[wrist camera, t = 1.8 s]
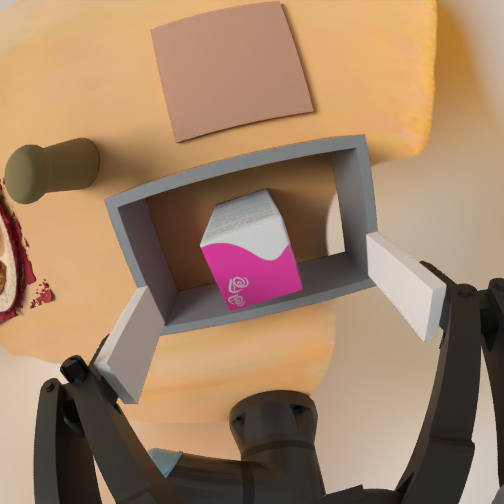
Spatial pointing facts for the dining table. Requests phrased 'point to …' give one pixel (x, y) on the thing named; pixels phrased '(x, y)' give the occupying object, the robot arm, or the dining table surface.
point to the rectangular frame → (311, 272)
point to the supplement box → (250, 251)
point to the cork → (51, 169)
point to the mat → (229, 69)
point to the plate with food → (14, 268)
